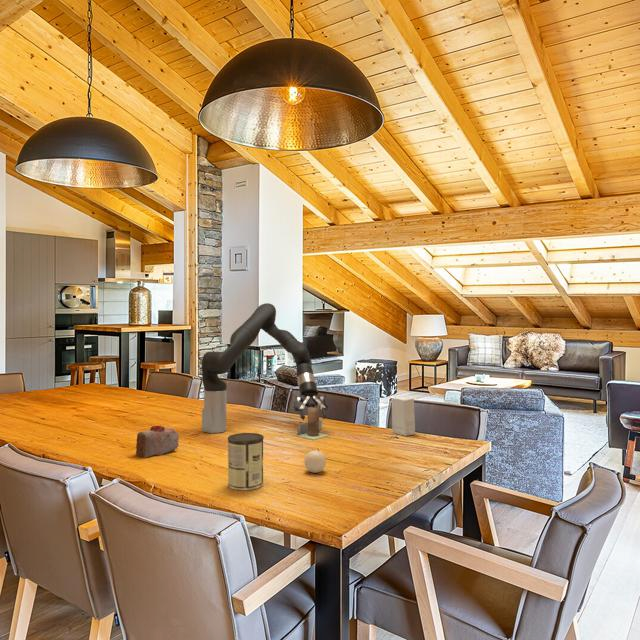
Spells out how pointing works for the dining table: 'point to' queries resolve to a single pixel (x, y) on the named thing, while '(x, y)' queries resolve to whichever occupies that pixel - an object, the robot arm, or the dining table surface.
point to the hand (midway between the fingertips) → (314, 418)
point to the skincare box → (403, 416)
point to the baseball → (315, 461)
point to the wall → (306, 427)
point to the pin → (313, 421)
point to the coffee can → (245, 461)
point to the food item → (156, 441)
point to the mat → (313, 436)
